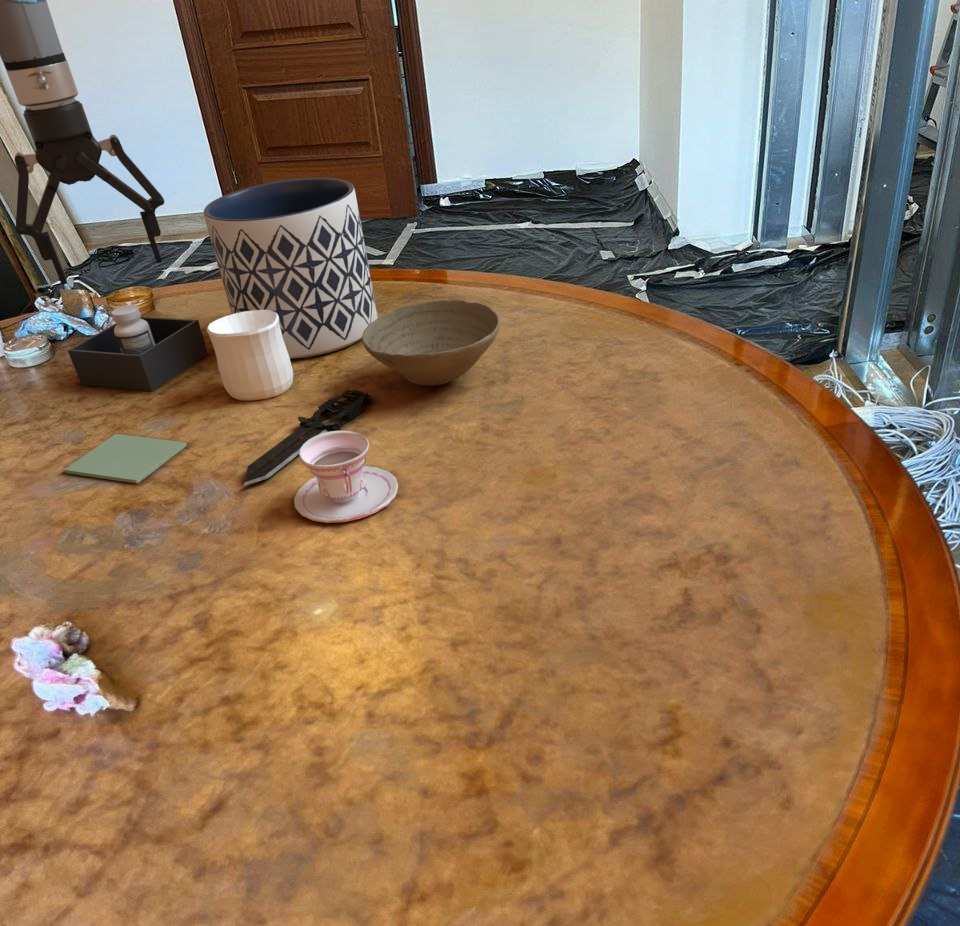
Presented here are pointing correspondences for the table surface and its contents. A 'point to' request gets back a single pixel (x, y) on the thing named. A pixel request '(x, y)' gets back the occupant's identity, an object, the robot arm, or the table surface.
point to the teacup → (342, 479)
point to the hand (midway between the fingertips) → (112, 271)
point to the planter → (296, 260)
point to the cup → (251, 354)
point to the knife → (306, 427)
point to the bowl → (432, 339)
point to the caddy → (139, 356)
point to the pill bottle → (131, 330)
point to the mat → (126, 458)
